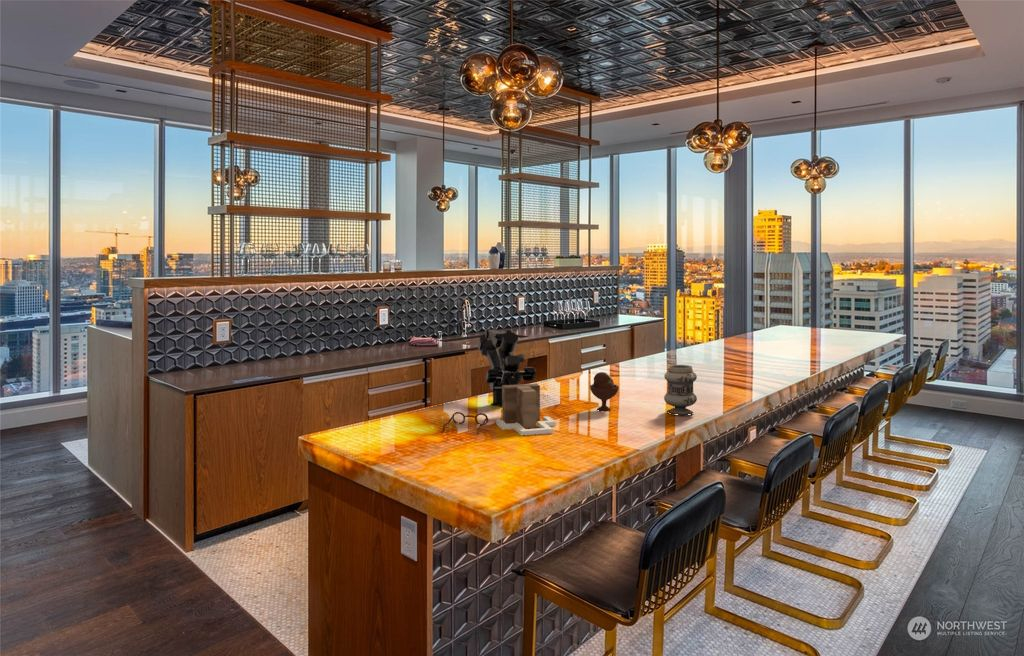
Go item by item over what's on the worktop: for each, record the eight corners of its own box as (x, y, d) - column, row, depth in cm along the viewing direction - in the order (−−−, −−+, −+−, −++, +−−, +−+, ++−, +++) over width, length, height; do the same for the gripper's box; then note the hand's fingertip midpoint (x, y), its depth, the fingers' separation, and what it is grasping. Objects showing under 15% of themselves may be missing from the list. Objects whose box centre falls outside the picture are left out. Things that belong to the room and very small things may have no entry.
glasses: (488, 426, 230) (488, 412, 229) (478, 436, 217) (478, 421, 217) (453, 424, 233) (452, 410, 232) (441, 434, 220) (440, 419, 220)
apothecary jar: (670, 408, 255) (671, 362, 253) (701, 412, 248) (702, 365, 246) (658, 414, 245) (659, 366, 243) (689, 418, 238) (690, 369, 236)
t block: (502, 420, 236) (502, 385, 235) (536, 418, 239) (536, 383, 238) (511, 429, 224) (511, 392, 222) (547, 427, 227) (547, 390, 226)
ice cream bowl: (618, 413, 245) (618, 374, 244) (588, 412, 248) (588, 373, 246) (619, 407, 256) (619, 369, 254) (590, 406, 258) (590, 369, 256)
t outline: (496, 424, 231) (496, 419, 231) (548, 420, 237) (548, 416, 236) (509, 436, 215) (509, 432, 215) (564, 432, 220) (564, 427, 220)
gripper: (486, 347, 243) (494, 382, 234) (534, 345, 248) (543, 379, 239) (482, 365, 252) (489, 399, 242) (528, 363, 257) (537, 396, 247)
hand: (515, 393), depth 242 cm, fingers closed
